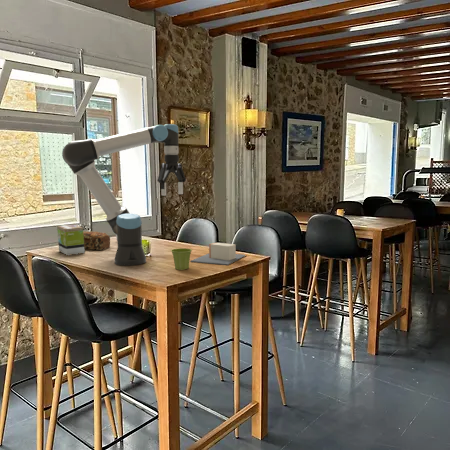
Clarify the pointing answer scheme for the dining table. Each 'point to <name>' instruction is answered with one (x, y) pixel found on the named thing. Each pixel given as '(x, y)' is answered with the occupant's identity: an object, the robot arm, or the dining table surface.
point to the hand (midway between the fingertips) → (172, 194)
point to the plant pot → (181, 258)
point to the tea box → (70, 239)
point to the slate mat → (216, 260)
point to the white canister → (222, 251)
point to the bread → (96, 240)
